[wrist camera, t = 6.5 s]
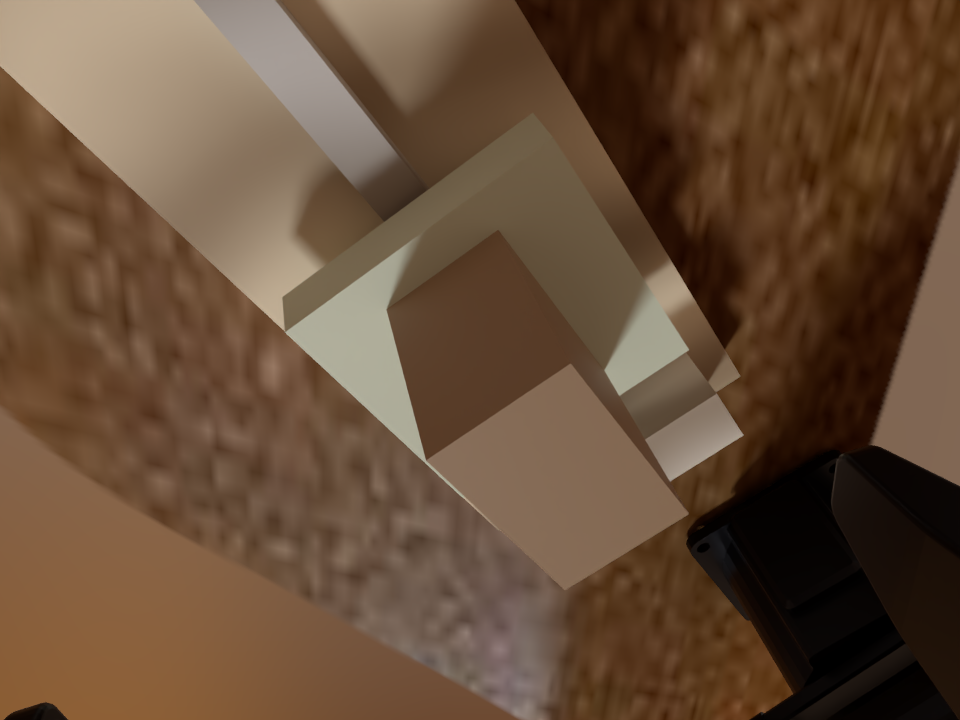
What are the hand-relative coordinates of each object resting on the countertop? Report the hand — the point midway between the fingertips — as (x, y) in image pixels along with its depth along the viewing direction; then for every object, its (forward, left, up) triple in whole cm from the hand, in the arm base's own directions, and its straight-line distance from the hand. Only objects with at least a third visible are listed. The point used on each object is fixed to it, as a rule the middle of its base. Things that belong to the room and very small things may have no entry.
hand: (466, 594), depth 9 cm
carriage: (-5, -1, -11) cm, 12 cm away
